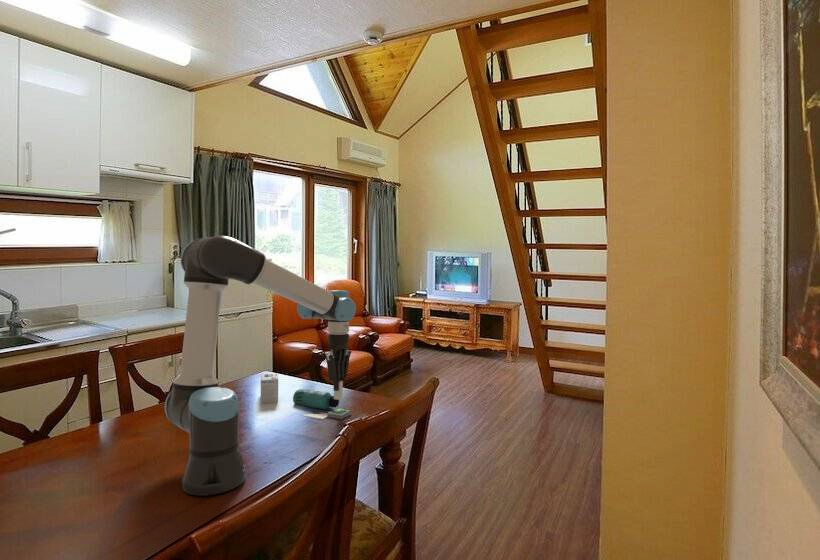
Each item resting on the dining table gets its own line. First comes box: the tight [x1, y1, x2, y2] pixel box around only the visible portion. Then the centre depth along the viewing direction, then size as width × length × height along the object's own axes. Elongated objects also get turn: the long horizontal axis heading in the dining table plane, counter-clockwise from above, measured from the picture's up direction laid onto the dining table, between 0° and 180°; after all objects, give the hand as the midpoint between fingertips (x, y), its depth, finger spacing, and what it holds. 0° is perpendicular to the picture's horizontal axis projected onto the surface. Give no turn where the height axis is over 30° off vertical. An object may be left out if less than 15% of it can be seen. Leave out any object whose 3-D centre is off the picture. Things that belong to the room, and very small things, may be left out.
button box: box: [327, 409, 352, 420], centre depth 164 cm, size 6×6×2 cm
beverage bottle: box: [292, 388, 340, 411], centre depth 173 cm, size 6×7×20 cm
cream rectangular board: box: [302, 413, 328, 420], centre depth 170 cm, size 16×12×1 cm
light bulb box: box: [260, 373, 279, 404], centre depth 180 cm, size 11×7×11 cm, turn 17°
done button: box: [333, 408, 345, 414], centre depth 164 cm, size 3×3×2 cm
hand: (338, 399), depth 163 cm, fingers closed
